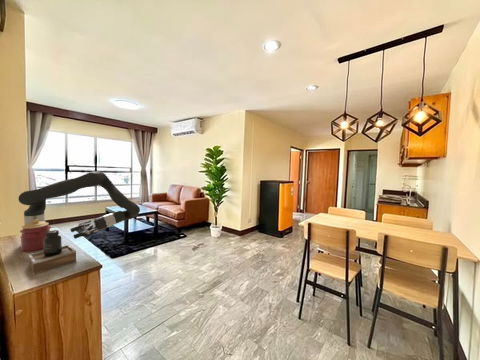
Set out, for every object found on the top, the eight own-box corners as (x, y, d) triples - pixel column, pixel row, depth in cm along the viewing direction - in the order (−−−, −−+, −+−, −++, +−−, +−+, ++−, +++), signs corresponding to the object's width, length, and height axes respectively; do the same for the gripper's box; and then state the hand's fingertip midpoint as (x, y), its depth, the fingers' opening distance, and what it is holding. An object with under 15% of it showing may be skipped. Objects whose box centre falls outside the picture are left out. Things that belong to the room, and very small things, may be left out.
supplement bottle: (65, 252, 106) (64, 230, 105) (49, 258, 100) (48, 234, 99) (56, 250, 109) (55, 228, 108) (40, 255, 102) (39, 232, 101)
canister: (43, 251, 117) (42, 222, 116) (14, 253, 113) (13, 223, 112) (56, 242, 129) (55, 216, 128) (30, 244, 125) (29, 216, 124)
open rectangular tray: (28, 265, 101) (28, 254, 101) (69, 254, 114) (68, 244, 114) (33, 274, 94) (33, 262, 94) (76, 261, 107) (75, 250, 107)
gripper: (100, 212, 125) (67, 223, 114) (107, 220, 116) (72, 233, 105) (103, 222, 128) (71, 234, 117) (110, 231, 119) (77, 245, 108)
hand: (72, 233), depth 111 cm, fingers open, 8 cm apart
